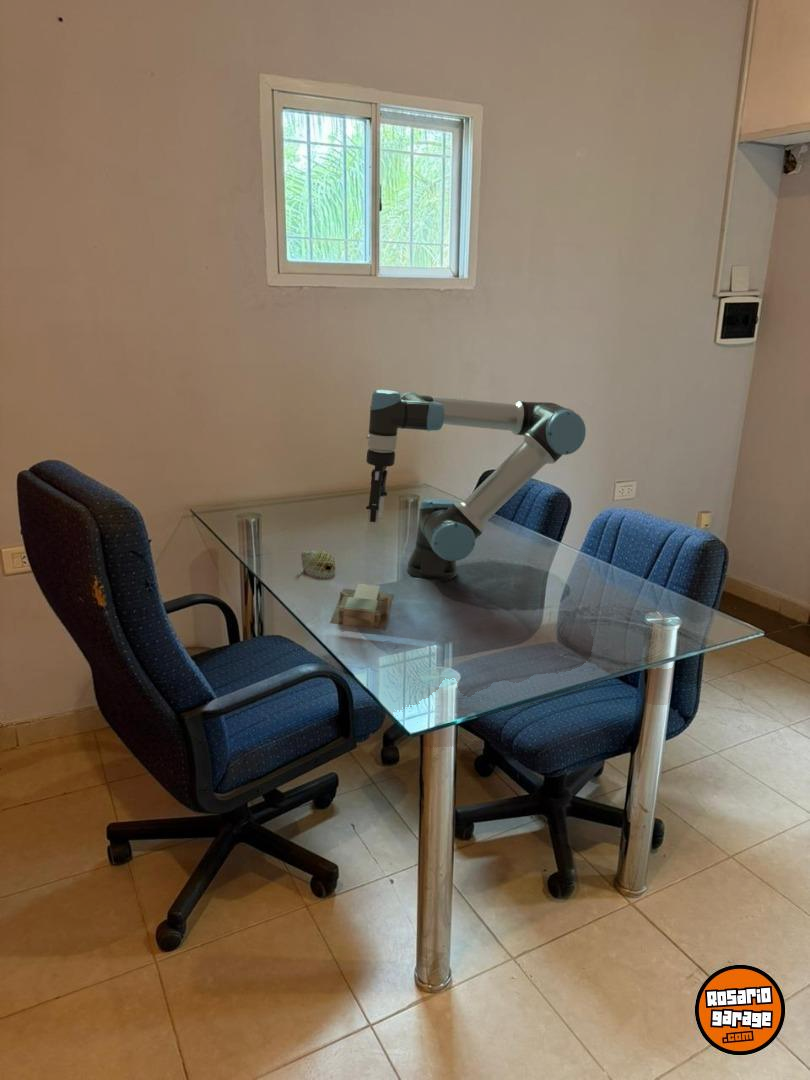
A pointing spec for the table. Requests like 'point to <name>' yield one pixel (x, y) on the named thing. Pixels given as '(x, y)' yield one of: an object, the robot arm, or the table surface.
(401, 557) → the table surface
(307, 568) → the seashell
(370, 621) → the dock
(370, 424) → the robot arm
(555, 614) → the table surface
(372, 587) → the tile
